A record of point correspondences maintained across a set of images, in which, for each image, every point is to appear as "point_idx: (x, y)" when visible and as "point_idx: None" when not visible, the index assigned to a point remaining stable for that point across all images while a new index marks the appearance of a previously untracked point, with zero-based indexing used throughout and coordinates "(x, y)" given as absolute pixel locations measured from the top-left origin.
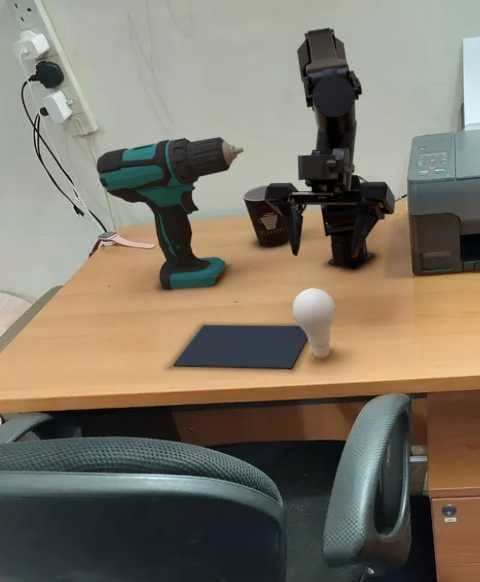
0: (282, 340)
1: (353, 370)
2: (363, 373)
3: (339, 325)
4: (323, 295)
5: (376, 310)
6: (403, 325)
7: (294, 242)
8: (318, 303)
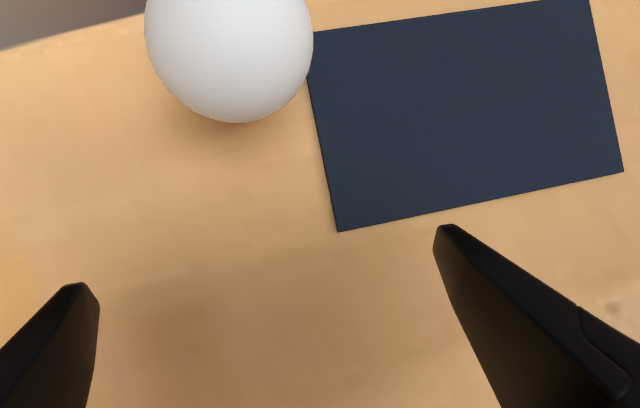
0: (385, 146)
1: (136, 61)
2: (104, 53)
3: (272, 260)
4: (163, 8)
5: (200, 364)
6: None
7: (476, 262)
8: None
